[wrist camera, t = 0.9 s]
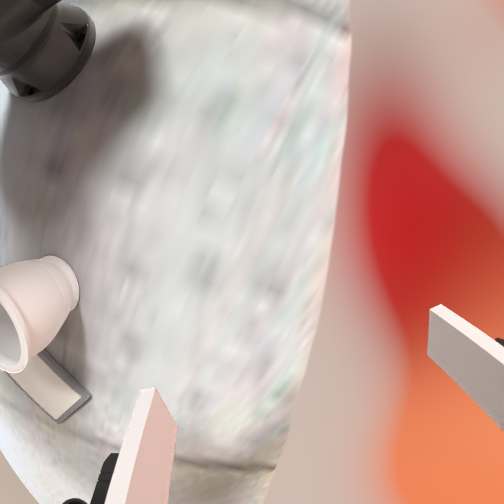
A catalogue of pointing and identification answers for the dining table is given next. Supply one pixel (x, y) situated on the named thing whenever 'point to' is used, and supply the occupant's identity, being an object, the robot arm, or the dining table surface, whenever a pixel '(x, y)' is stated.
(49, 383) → the board
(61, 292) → the jar
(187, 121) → the dining table surface
